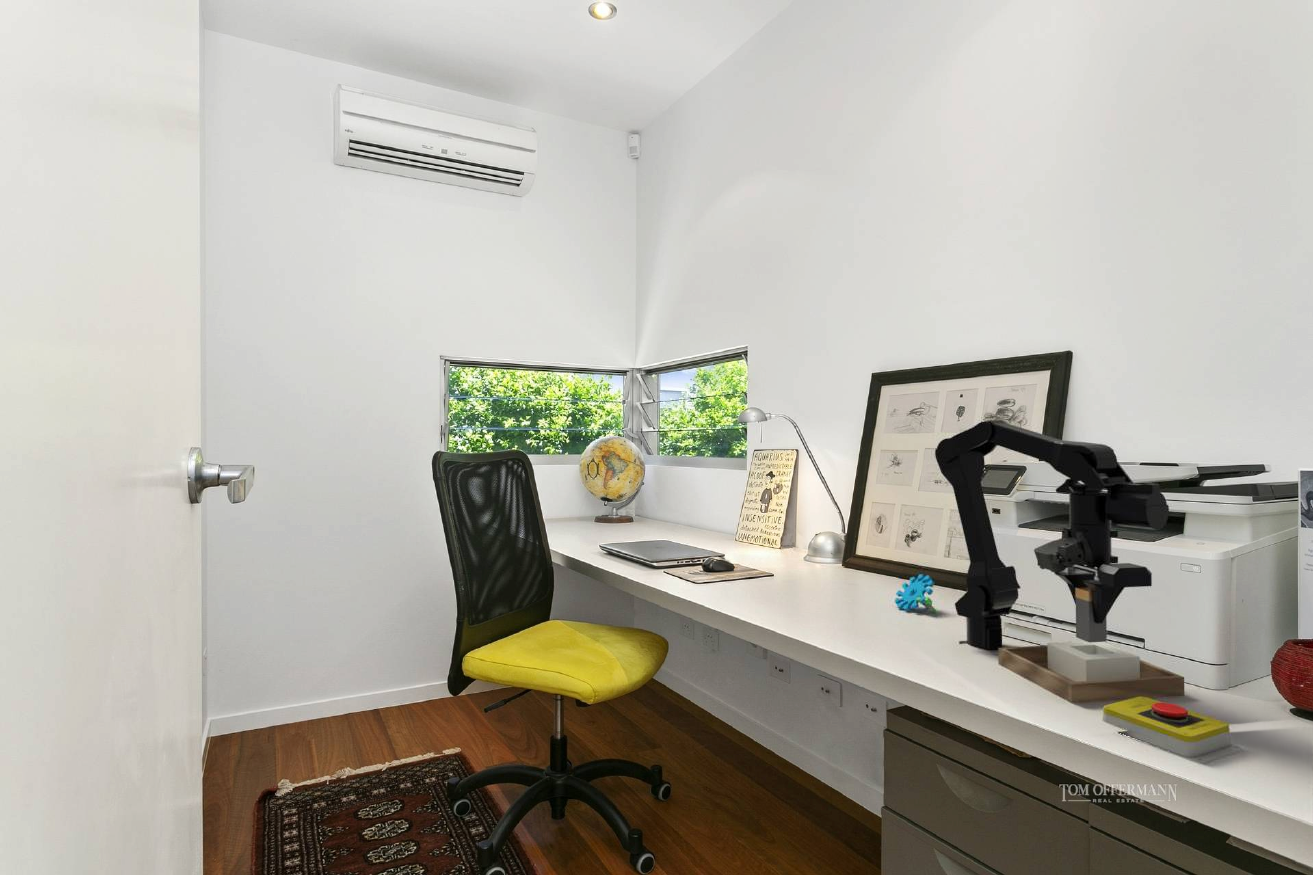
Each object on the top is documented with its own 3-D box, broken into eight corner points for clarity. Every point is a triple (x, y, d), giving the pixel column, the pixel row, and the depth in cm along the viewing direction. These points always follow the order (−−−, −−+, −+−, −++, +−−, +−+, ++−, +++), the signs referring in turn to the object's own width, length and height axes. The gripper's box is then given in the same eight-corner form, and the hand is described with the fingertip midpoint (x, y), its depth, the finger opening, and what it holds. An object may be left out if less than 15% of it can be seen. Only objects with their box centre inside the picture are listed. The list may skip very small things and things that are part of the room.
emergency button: (1202, 732, 87) (1083, 692, 101) (1202, 768, 87) (1084, 723, 101) (1247, 718, 91) (1126, 681, 105) (1247, 753, 91) (1127, 712, 105)
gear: (886, 597, 170) (916, 566, 170) (902, 613, 171) (932, 583, 171) (907, 615, 159) (940, 582, 159) (925, 632, 160) (957, 600, 160)
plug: (1076, 637, 118) (1075, 587, 118) (1093, 636, 118) (1092, 586, 118) (1089, 642, 115) (1088, 591, 115) (1106, 641, 115) (1106, 590, 115)
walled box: (998, 668, 123) (998, 647, 123) (1096, 662, 125) (1096, 642, 125) (1071, 708, 105) (1071, 684, 105) (1184, 700, 107) (1184, 677, 107)
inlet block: (1047, 668, 120) (1047, 642, 120) (1097, 665, 122) (1097, 640, 122) (1086, 687, 112) (1085, 659, 112) (1140, 683, 113) (1139, 656, 113)
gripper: (1007, 517, 125) (1008, 608, 125) (1084, 532, 106) (1085, 639, 106) (1068, 515, 126) (1069, 605, 126) (1154, 530, 108) (1155, 635, 108)
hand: (1091, 620), depth 117 cm, fingers closed on plug, 3 cm apart
